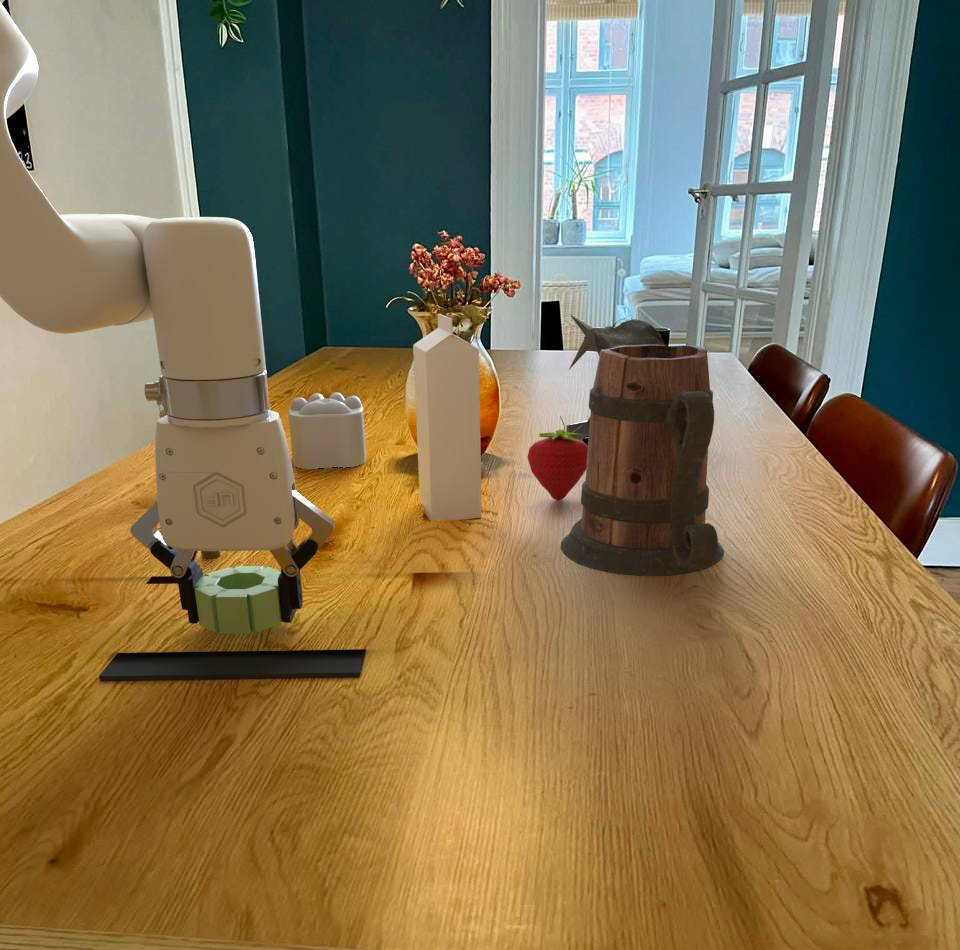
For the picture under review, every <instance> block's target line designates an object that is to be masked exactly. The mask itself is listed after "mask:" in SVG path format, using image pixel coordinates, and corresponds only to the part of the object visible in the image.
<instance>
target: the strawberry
mask: <svg viewBox="0 0 960 950" xmlns="http://www.w3.org/2000/svg"><path fill="white" fill-rule="evenodd" d="M559 418H560V421H561V422H562V425H563V429H562V428H560V429H556V430H555V432H553V431H552V432H542V433H541V432H540V433H538V437H539V438H543V439H539V440H536V441H535V442H534V443H533V444H531V445H530V447H529V449H528V453H527V461H528V464H529V467H530V471H531V473H532V474H533V476H534V477H535V478H536V480H537V481H538V483H539V484H540V485H541V486H542V487H543V489H545V490H546V492H547V493H548V494H549V495H550V497H551V498H552V499H553V500H555V501H562V500H563V499H564V498H566V497H567V495H568V494H569V493H570V491H571V490H572V489H574V487H575V486H576V485H577V483H578V482H579V481H580V479H581V478H582V476H583V475H584V473H586V466H587V453H588V444H586V442H584V441H583V440H582V441H581V440H577V439H574V438H573V437H574V436H583V434H577V433H571V432H570V433H569V432H566V425H565V423H564V421H563V418H562V416H561V415H559Z"/></svg>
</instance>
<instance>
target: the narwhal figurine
mask: <svg viewBox="0 0 960 950" xmlns="http://www.w3.org/2000/svg"><path fill="white" fill-rule="evenodd" d="M570 317H571V318H572V320H573V321H574V322H575V324H576V326H577V327H578V328H579V330H580V331H581V332H582V333H583V336H585V337H584V338H583V340H582V343H581V344H580V347H579V349H578V350H577V352H576V354H575V356H574V358H573V360H572V362H571V364H570V366H569V368H568V370H567V371H570V370H571V369H572V367H573V366H575V364H577V362H578V361H579V360H580V359H581V358H582V357H583V356H584V355H585V353H586V352H588V351H589V352H596V353H597V355H598V357H599V356H600V351H601V350H603V349H610V348H613V347H617V346H624V345H662V346H666V344H665V341H664V339H663V338H662V336H661V334H660V332H659V331H658V330H657V329H656V328H655V327H654V326H653V325H652V324H651V323H650V322H647V321H645V320H642V319H641V320H640V319H637V318H633V319H632V318H631V319H628V320H625V321H623V322H620V324H619V325H617V326H615V327H614V326H611V325H609V326H608V325H607V326H604V327H603V326H601V327H595V326H594V327H592V326H591V325H589V324H588V323H586V322H583V321H582V320H580V319H579V318H576V317H575V316H574V315H572V314H570ZM589 426H590V416H589V418H588V419H587V420H582V421H579V422H575V423H571V424H567V425H566V428H565V431H566V432H569V433H570V432H571V433H577V434H583V436H574V437H573V438H574V439H577V440H581V441H583V440H584V439H586V438H589Z"/></svg>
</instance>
